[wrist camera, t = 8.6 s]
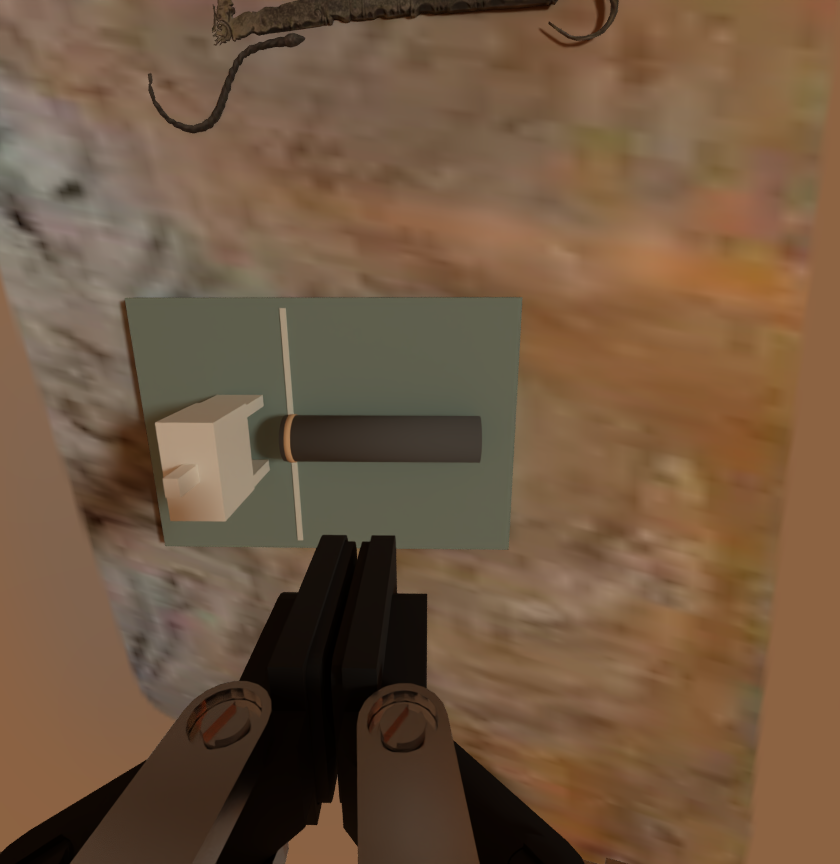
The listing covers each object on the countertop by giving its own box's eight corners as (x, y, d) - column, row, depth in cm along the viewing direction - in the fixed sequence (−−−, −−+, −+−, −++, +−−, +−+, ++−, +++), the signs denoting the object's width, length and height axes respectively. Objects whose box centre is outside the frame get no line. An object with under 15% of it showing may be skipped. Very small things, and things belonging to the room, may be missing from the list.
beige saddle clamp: (216, 392, 26) (131, 433, 18) (262, 393, 26) (195, 433, 18) (226, 471, 27) (149, 539, 20) (269, 471, 27) (209, 539, 19)
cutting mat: (133, 297, 25) (123, 298, 25) (519, 297, 25) (522, 297, 24) (172, 539, 29) (164, 546, 28) (506, 542, 29) (508, 550, 28)
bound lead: (290, 409, 26) (276, 421, 24) (478, 409, 26) (482, 422, 23) (294, 453, 27) (280, 469, 24) (476, 454, 27) (481, 470, 24)
